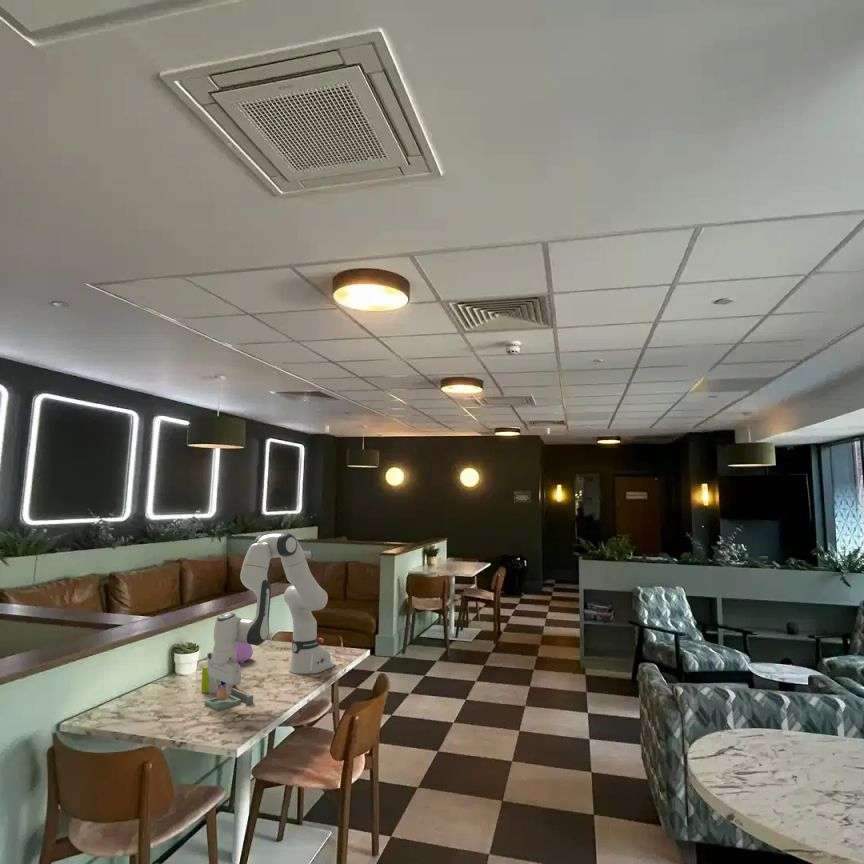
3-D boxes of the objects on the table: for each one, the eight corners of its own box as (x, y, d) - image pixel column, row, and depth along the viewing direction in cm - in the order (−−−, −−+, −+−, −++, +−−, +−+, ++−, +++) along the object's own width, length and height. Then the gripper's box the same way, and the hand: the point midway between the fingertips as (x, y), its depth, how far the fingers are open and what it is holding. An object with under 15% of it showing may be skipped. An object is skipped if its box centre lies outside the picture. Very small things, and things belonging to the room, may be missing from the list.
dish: (228, 697, 230) (228, 693, 231) (241, 703, 224) (241, 699, 224) (204, 704, 223) (204, 700, 223) (217, 710, 216) (217, 706, 217)
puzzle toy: (222, 693, 235) (223, 668, 236) (201, 692, 237) (202, 667, 238) (235, 685, 245) (236, 662, 246) (215, 684, 247) (216, 660, 248)
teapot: (246, 667, 271) (247, 641, 272) (216, 668, 270) (217, 642, 271) (256, 655, 291) (257, 631, 292) (228, 656, 289) (229, 632, 291)
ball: (225, 697, 227) (226, 684, 228) (232, 700, 224) (232, 686, 224) (213, 700, 223) (214, 687, 224) (220, 703, 220) (220, 690, 221)
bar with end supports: (228, 692, 236) (228, 685, 237) (253, 703, 224) (253, 695, 224) (223, 694, 235) (223, 686, 235) (247, 704, 222) (247, 697, 223)
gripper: (245, 659, 221) (244, 695, 220) (219, 649, 234) (218, 684, 233) (230, 662, 216) (229, 700, 215) (204, 653, 230) (203, 688, 228)
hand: (223, 691), depth 224 cm, fingers open, 5 cm apart
